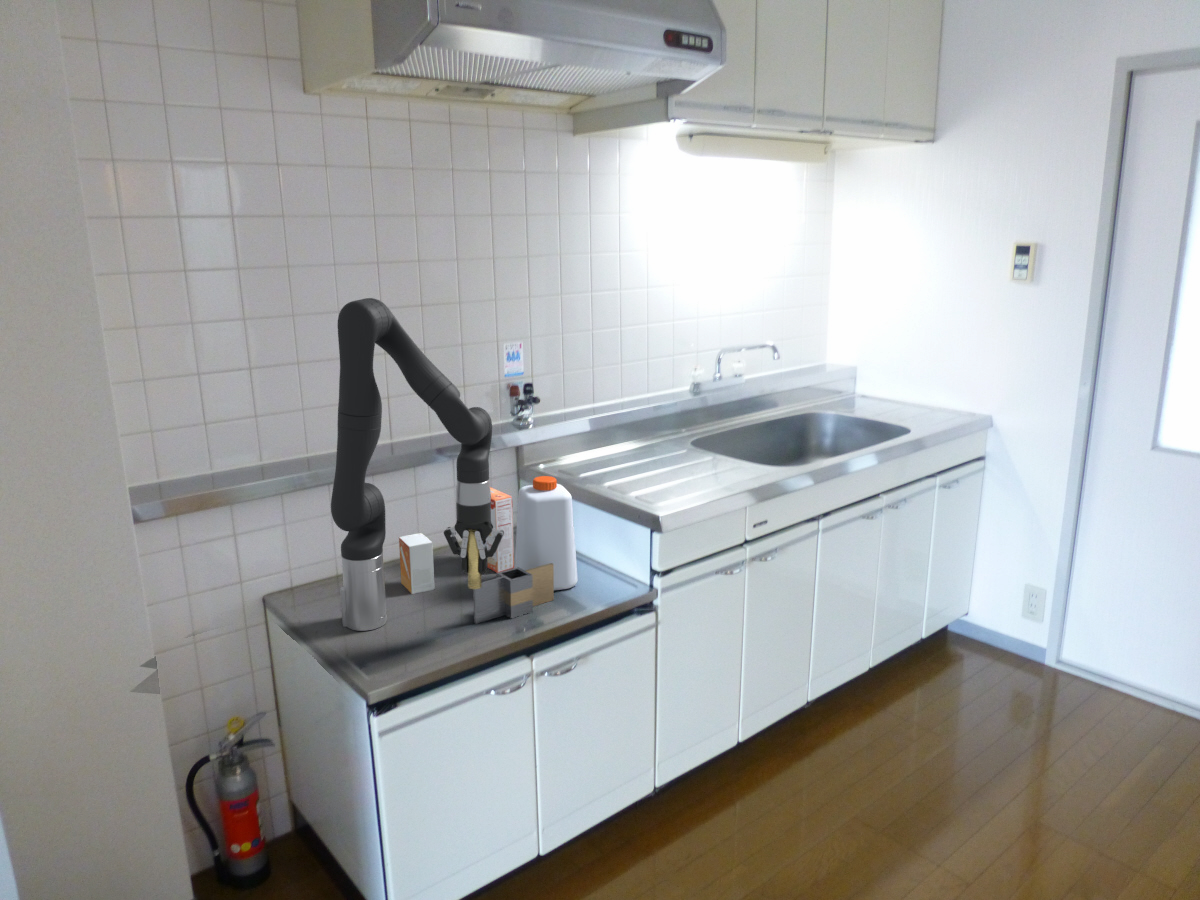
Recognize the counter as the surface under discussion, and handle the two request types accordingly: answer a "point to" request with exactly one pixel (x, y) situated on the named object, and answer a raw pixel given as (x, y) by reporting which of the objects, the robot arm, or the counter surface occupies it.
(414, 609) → the counter surface
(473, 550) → the hinge pin
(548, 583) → the hinge
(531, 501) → the plastic bottle
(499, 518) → the cracker box
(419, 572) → the small box
